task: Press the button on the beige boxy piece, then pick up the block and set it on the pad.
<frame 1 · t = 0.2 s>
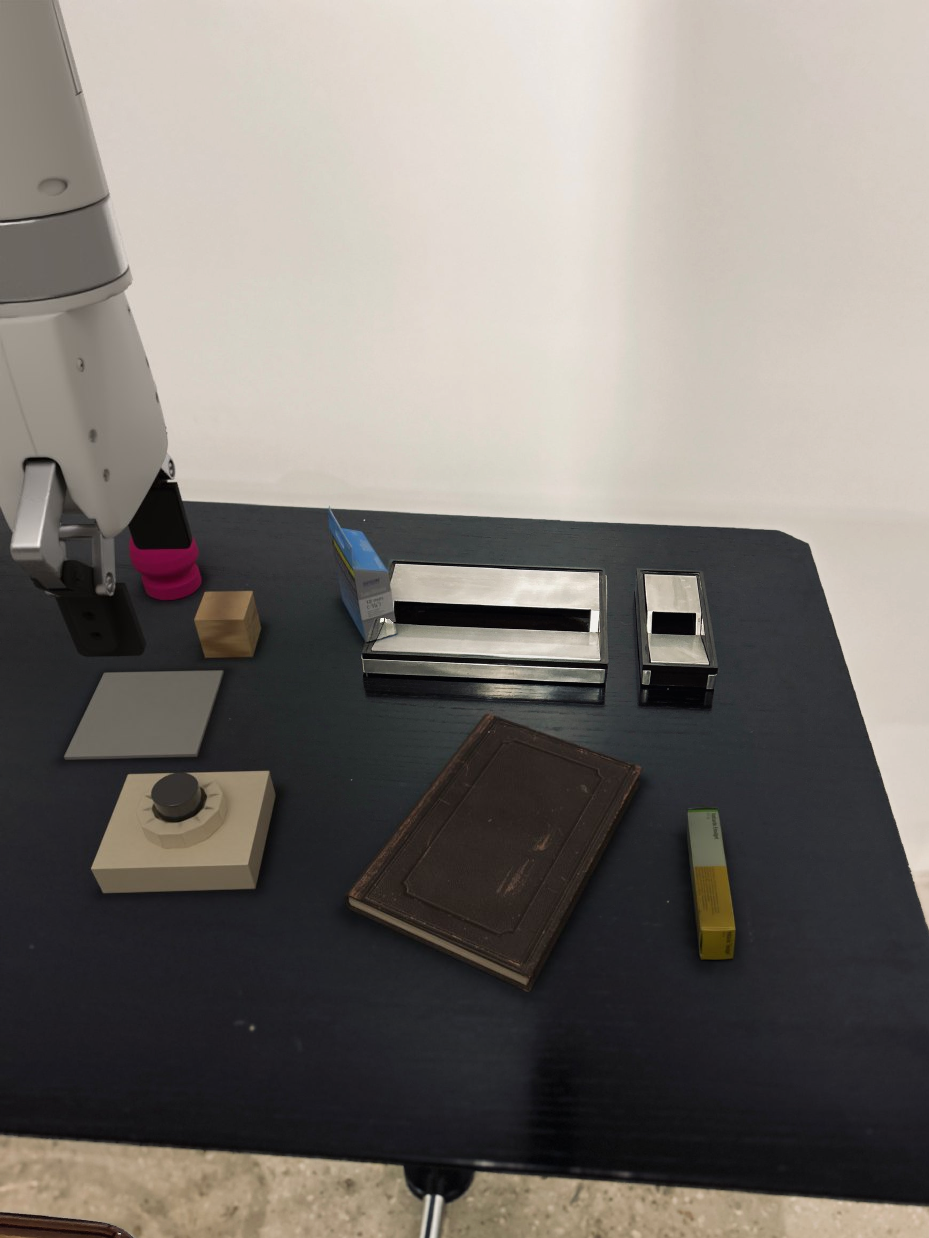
hand: (141, 595, 47), 31 cm above the table, tool pointing down, fingers open, 9 cm apart
pepper mill: (174, 586, 101), on the table
block: (233, 642, 93), on the table
hardcover book: (503, 843, 74), on the table
pad: (149, 714, 85), on the table
medication box: (704, 897, 70), on the table
label tape box: (368, 619, 97), on the table
button: (177, 797, 70), point 6 cm above the table, slide at 0.1 cm
beige boxy piece: (194, 841, 73), on the table
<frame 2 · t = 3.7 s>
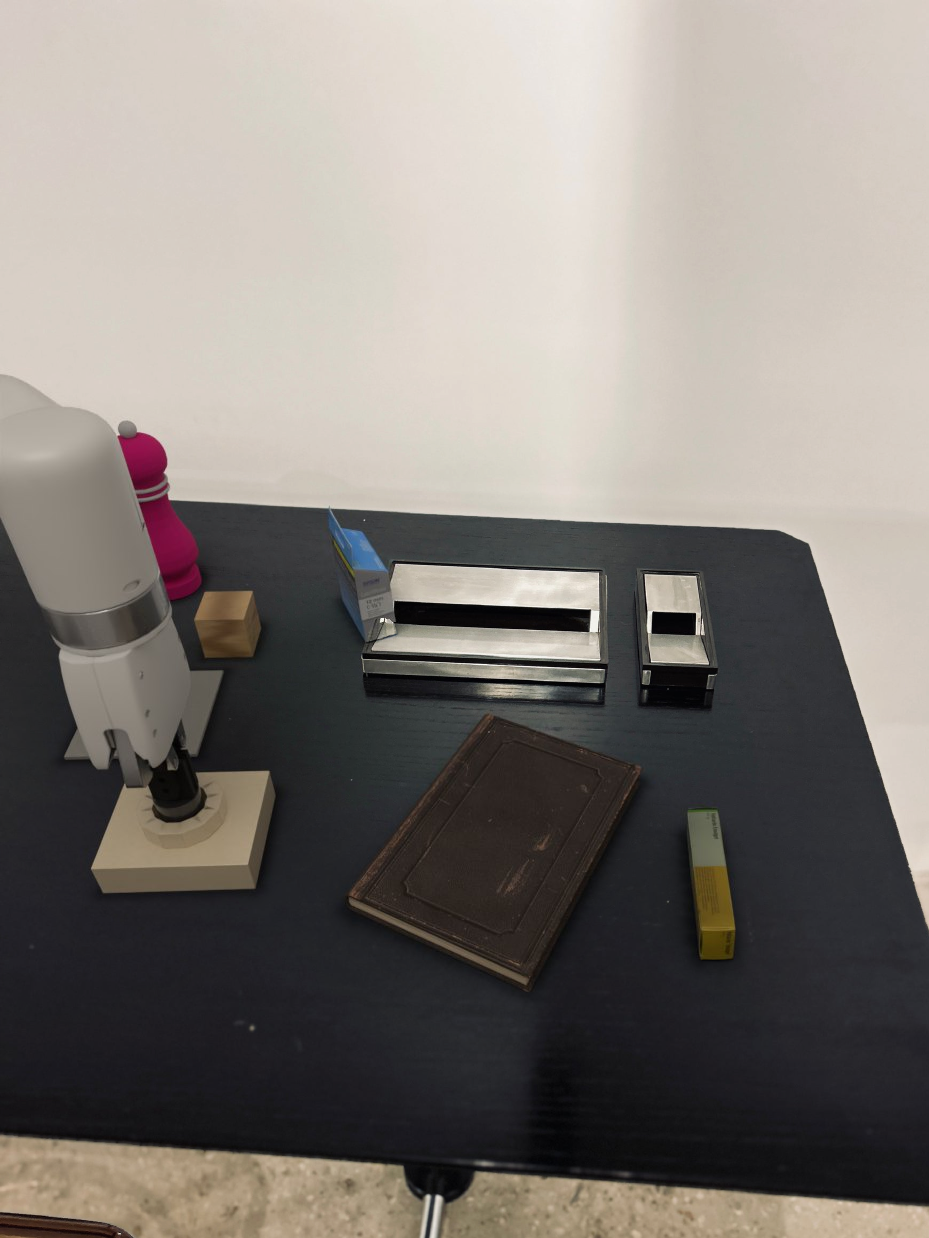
hand: (176, 791, 69), 6 cm above the table, tool pointing down, fingers closed
button: (178, 800, 70), point 5 cm above the table, slide at -0.3 cm, touching gripper
everything else where it was.
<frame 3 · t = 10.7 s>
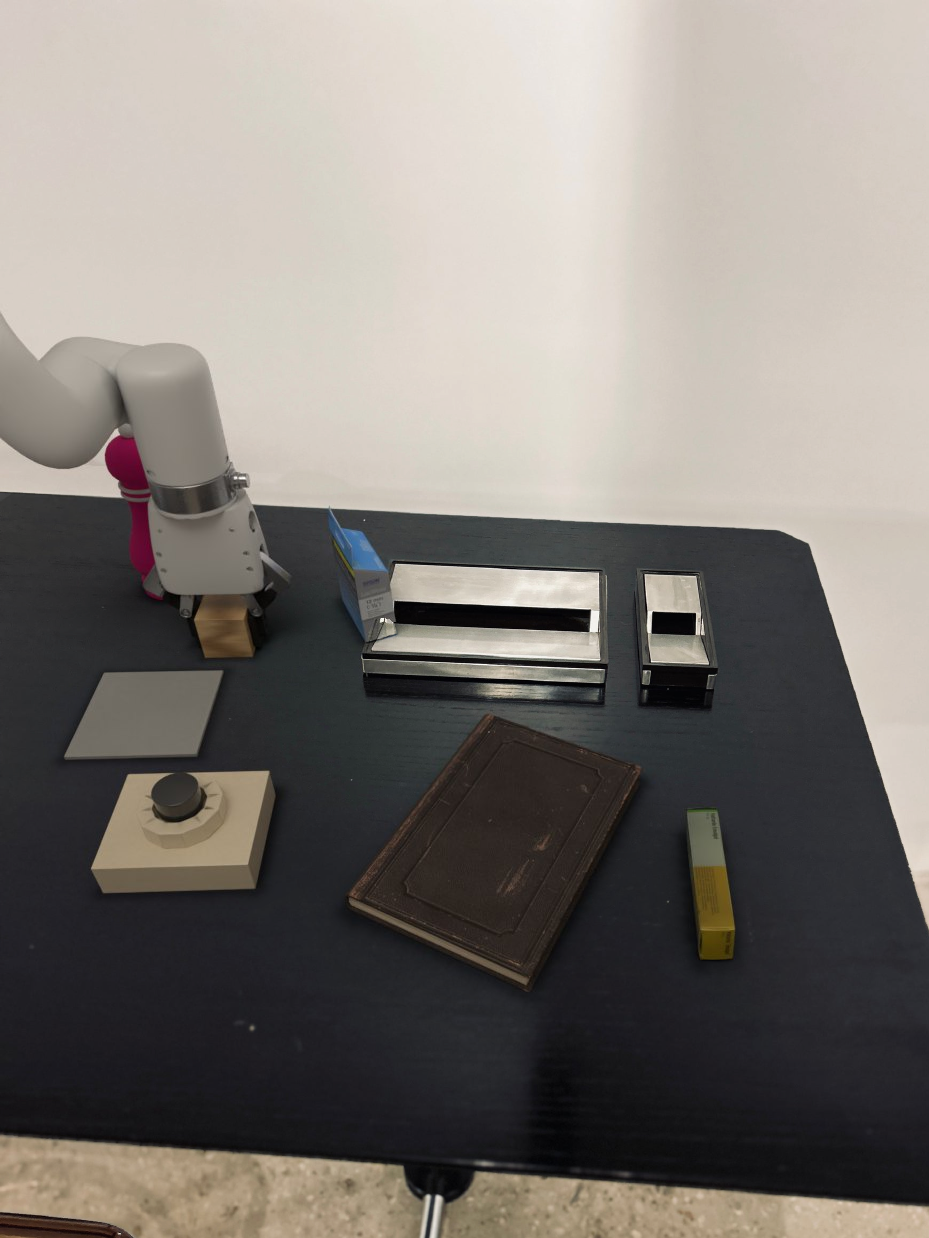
hand: (232, 638, 93), 1 cm above the table, tool pointing down, fingers closed on block, 5 cm apart
block: (233, 642, 93), on the table, touching gripper
button: (177, 797, 70), point 6 cm above the table, slide at 0.1 cm
everything else where it was.
when the fingers open (1 cm above the table, at t = 17.6 s): block stays where it is, resting on pad.
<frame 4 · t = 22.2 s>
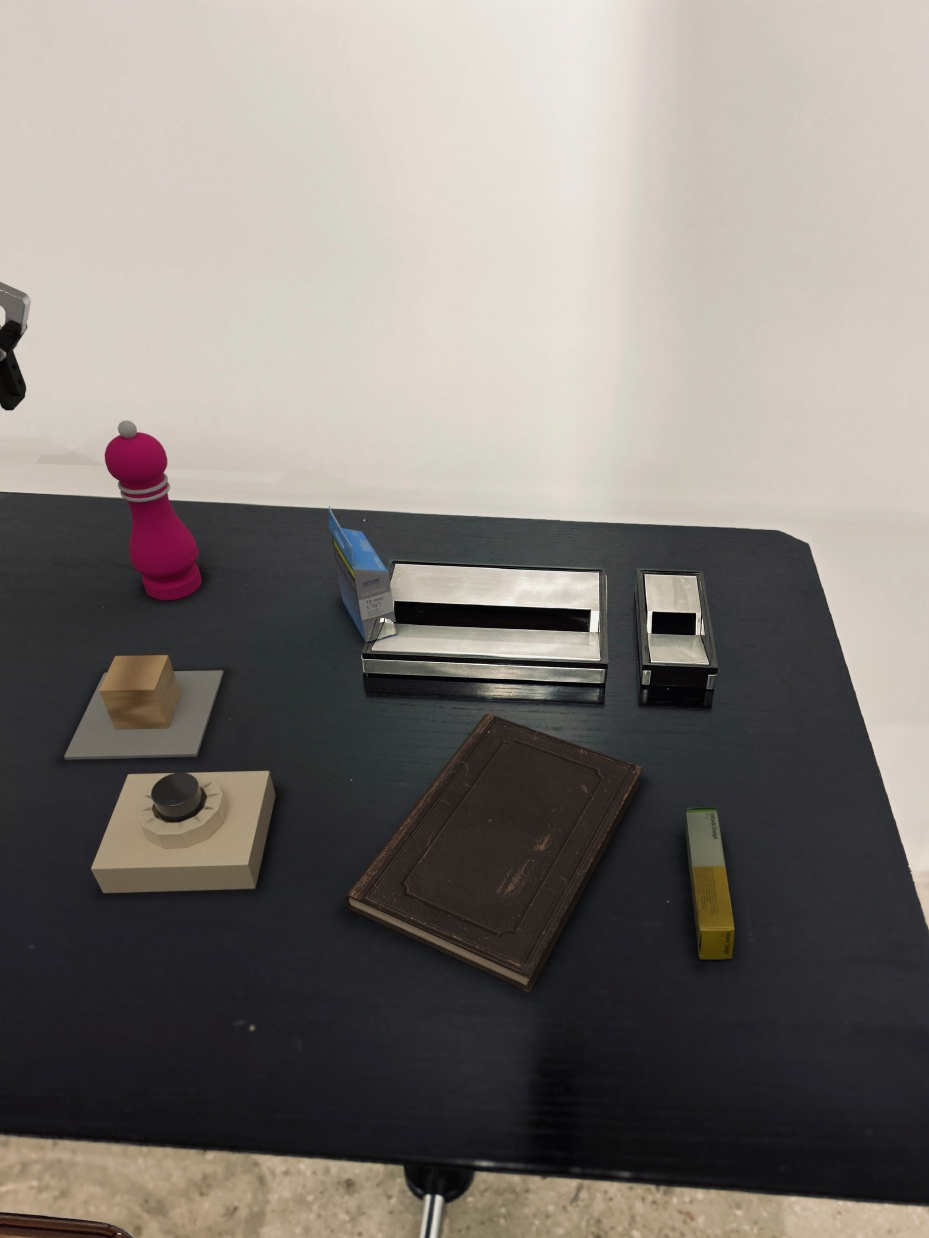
block: (148, 711, 85), resting on pad
everything else where it was.
at the end: button pushed in 1.1 cm at the most during the clip, back to where it started at the end; button slide at 0.1 cm; block inside the target area on the pad (0.1 cm from its centre), point 0.4 cm above the pad's base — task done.
